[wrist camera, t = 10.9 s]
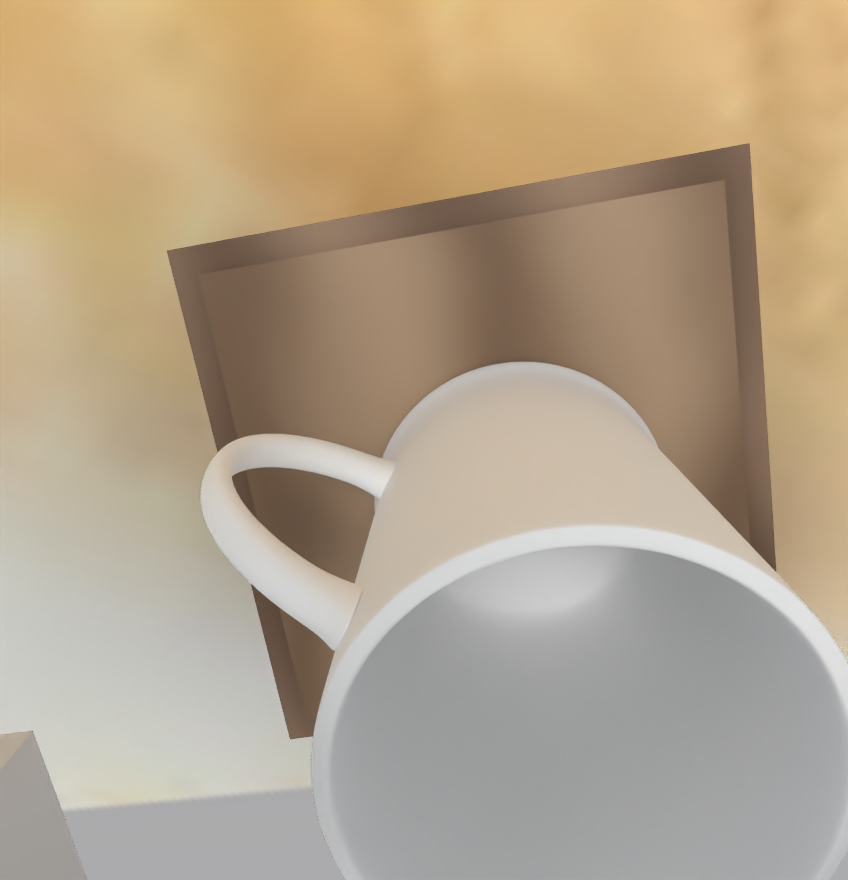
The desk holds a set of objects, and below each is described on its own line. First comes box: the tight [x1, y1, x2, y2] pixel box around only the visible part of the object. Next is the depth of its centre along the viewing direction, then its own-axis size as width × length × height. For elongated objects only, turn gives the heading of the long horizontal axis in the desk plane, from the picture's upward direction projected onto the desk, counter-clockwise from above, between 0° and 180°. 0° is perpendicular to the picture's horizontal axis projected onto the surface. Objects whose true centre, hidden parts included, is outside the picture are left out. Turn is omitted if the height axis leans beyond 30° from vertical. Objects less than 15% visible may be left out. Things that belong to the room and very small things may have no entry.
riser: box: [167, 144, 776, 739], centre depth 25 cm, size 16×16×5 cm
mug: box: [200, 362, 848, 880], centre depth 17 cm, size 12×8×12 cm
